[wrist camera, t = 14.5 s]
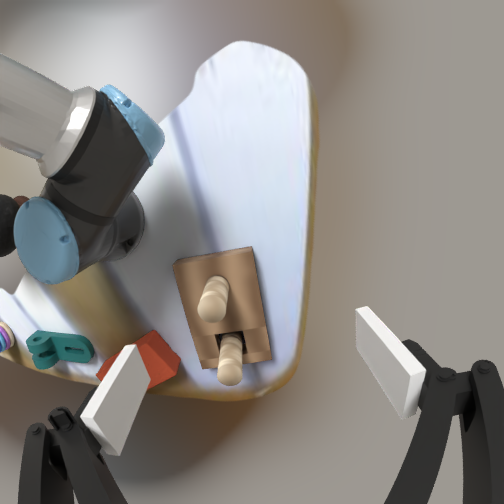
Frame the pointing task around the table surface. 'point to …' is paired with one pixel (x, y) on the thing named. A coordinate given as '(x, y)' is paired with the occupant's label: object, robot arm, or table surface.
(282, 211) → the table surface
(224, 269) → the walnut board
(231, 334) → the beech leg
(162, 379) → the brick
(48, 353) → the bracket
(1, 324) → the stacking toy
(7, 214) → the black ball on stand
